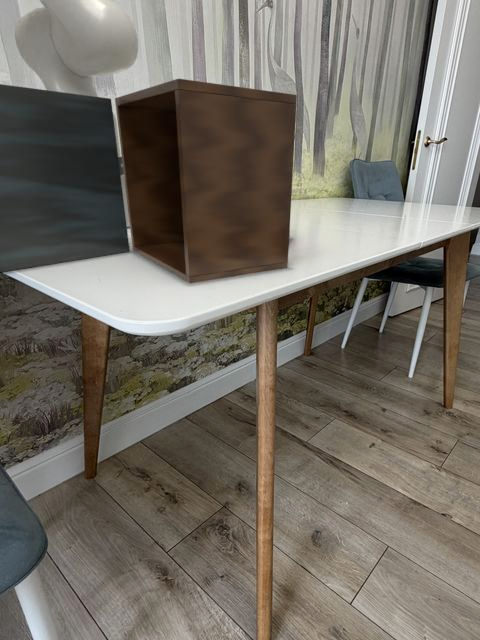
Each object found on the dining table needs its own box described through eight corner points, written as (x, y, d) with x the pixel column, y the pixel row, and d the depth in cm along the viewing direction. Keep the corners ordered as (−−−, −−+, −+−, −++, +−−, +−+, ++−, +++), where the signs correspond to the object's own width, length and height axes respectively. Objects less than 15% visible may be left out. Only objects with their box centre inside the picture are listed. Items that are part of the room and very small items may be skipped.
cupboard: (189, 284, 50) (177, 78, 41) (132, 251, 66) (114, 98, 57) (287, 268, 59) (297, 94, 49) (216, 242, 75) (212, 108, 65)
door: (-38, 266, 55) (-97, 79, 45) (108, 245, 70) (88, 101, 60) (-22, 276, 51) (-83, 73, 41) (129, 251, 66) (111, 98, 56)
